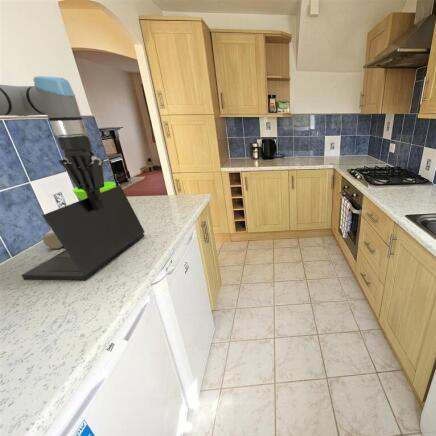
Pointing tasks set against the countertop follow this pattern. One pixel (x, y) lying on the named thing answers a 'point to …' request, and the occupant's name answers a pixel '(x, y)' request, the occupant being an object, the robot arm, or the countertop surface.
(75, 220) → the laptop screen
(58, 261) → the laptop
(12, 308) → the countertop surface
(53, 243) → the ceramic mug
